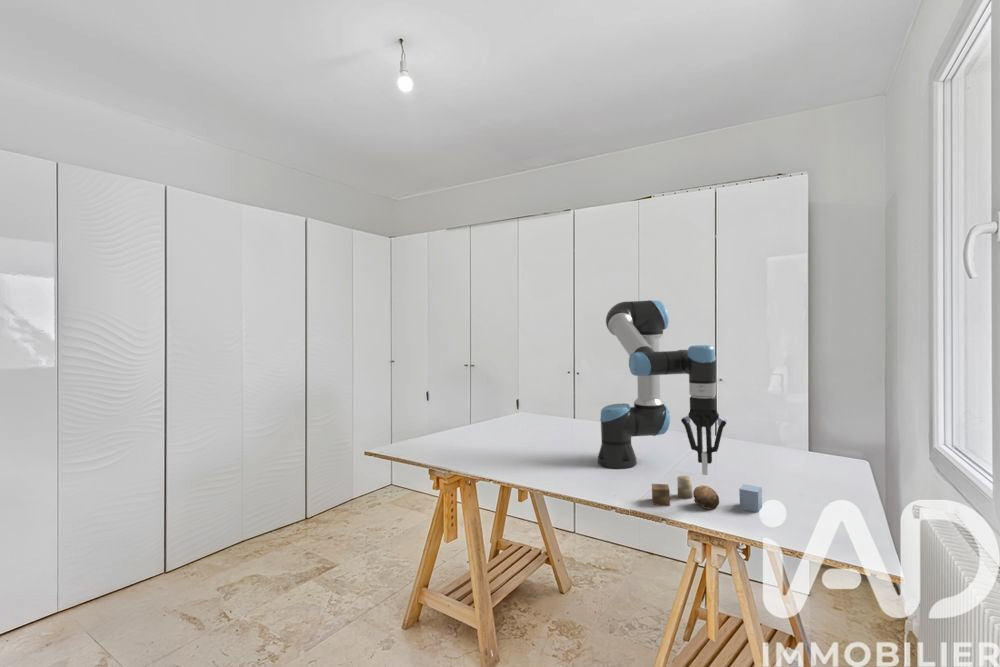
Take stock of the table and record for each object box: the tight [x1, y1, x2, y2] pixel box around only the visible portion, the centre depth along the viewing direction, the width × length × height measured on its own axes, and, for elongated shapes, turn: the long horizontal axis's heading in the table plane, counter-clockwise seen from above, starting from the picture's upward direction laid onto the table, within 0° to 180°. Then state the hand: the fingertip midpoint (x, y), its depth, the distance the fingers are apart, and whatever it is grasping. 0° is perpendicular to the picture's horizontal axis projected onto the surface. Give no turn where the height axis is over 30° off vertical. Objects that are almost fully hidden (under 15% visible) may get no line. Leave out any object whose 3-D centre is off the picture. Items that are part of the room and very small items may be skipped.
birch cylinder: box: [676, 475, 694, 500], centre depth 156 cm, size 4×4×6 cm
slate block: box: [738, 483, 763, 513], centre depth 145 cm, size 5×5×6 cm
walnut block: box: [651, 483, 671, 507], centre depth 152 cm, size 5×5×5 cm
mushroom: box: [692, 484, 720, 510], centre depth 148 cm, size 8×8×6 cm
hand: (705, 473), depth 147 cm, fingers closed
